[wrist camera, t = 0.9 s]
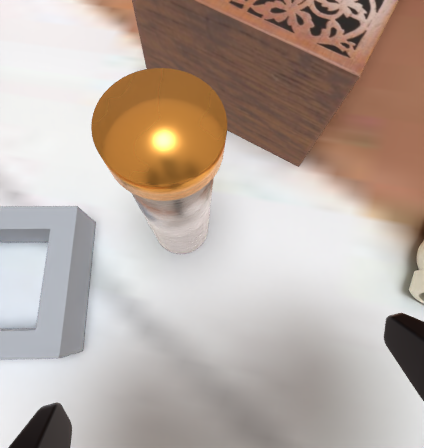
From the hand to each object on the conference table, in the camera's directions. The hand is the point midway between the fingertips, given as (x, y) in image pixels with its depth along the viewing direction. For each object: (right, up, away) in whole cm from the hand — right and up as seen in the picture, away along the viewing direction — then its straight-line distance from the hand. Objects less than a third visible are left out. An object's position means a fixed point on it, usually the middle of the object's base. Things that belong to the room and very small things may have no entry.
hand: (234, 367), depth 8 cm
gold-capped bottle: (-3, +4, +15) cm, 15 cm away
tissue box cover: (+7, +23, +21) cm, 32 cm away
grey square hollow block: (-14, 0, +13) cm, 19 cm away
